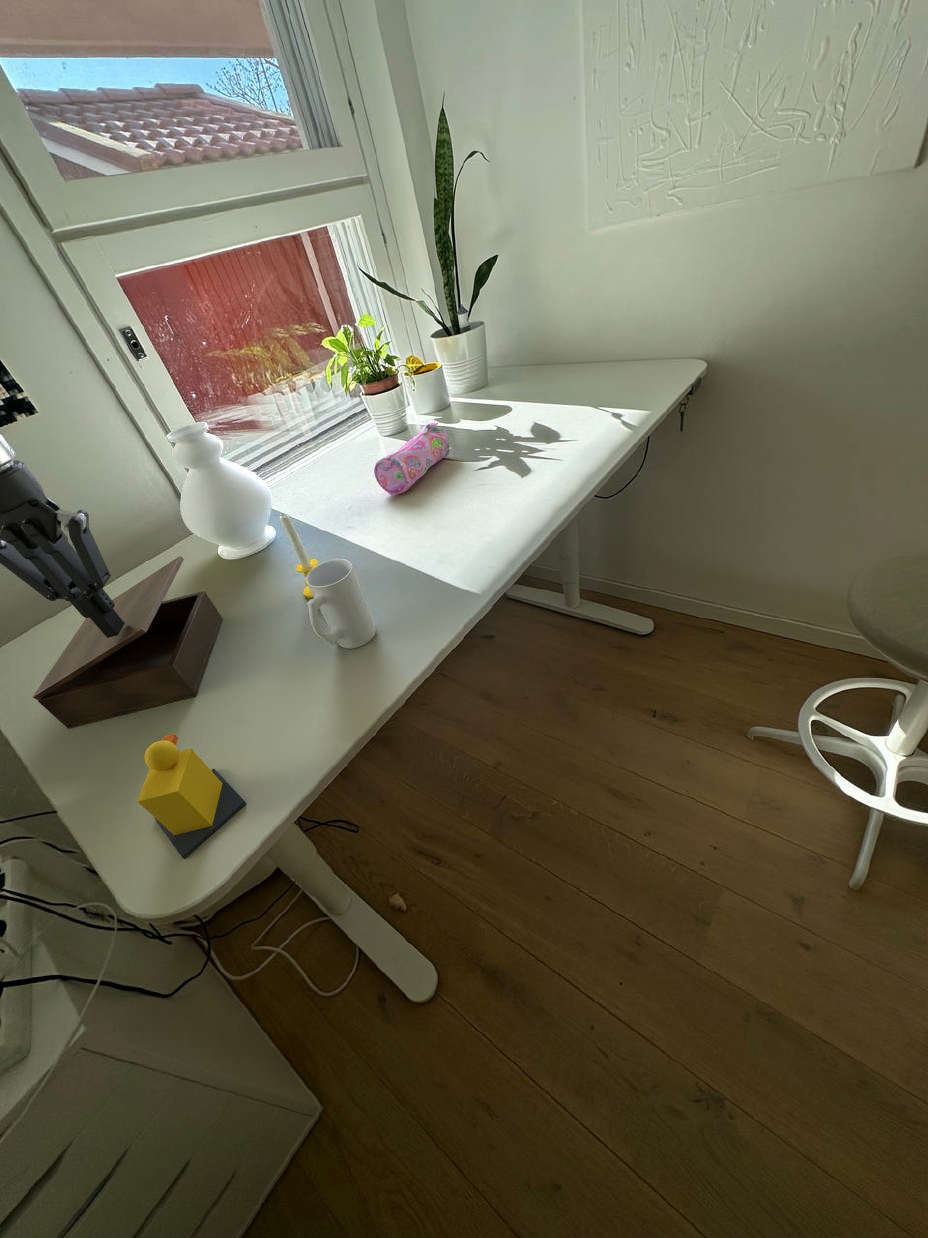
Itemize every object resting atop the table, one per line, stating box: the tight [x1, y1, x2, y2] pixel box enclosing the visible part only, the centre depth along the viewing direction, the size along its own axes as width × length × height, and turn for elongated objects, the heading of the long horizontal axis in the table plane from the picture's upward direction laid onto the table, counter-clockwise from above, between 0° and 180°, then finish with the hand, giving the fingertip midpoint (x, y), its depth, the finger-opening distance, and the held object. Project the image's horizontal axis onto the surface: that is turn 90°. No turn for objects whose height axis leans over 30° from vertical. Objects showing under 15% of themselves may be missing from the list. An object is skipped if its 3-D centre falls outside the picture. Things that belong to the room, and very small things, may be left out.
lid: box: [32, 555, 185, 701], centre depth 78 cm, size 21×19×1 cm
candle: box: [278, 513, 319, 600], centre depth 88 cm, size 5×5×16 cm
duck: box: [136, 733, 222, 835], centre depth 58 cm, size 4×7×10 cm, turn 9°
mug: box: [305, 558, 377, 649], centre depth 76 cm, size 10×7×12 cm, turn 156°
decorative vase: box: [166, 421, 277, 560], centre depth 105 cm, size 18×18×25 cm
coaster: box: [153, 768, 247, 860], centre depth 61 cm, size 8×8×1 cm
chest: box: [37, 590, 224, 729], centre depth 82 cm, size 20×19×6 cm
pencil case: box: [373, 422, 451, 496], centre depth 119 cm, size 21×9×9 cm, turn 151°
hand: (116, 630), depth 72 cm, fingers closed
